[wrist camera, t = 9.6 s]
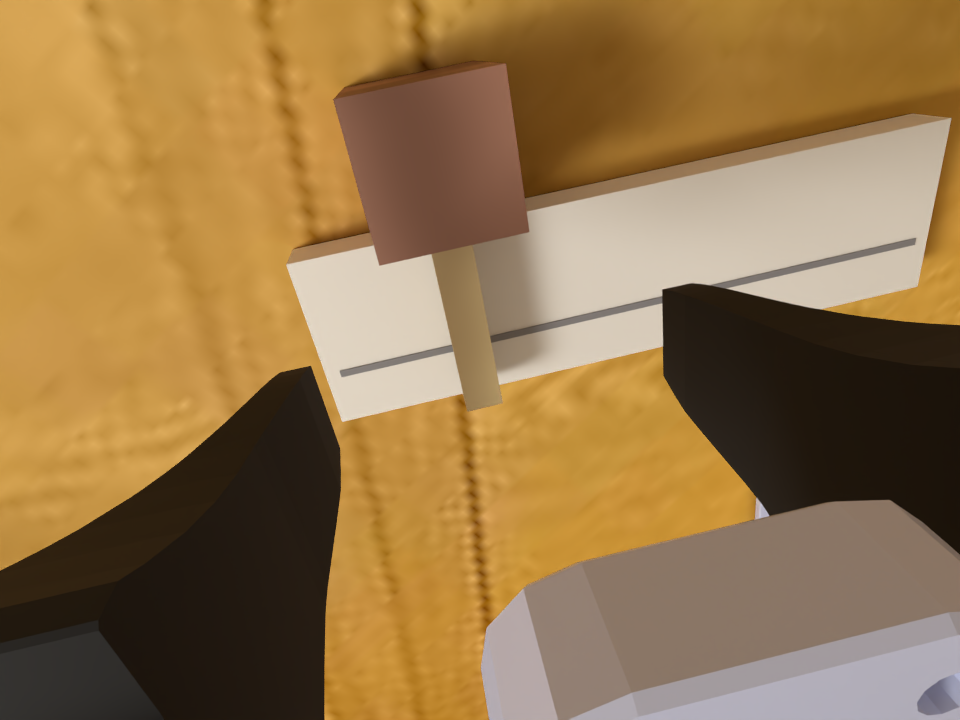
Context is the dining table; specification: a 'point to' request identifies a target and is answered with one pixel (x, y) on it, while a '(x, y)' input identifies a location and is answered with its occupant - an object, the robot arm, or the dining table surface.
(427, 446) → the dining table surface
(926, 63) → the dining table surface
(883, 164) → the board
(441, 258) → the chocolate popsicle
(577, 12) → the dining table surface
